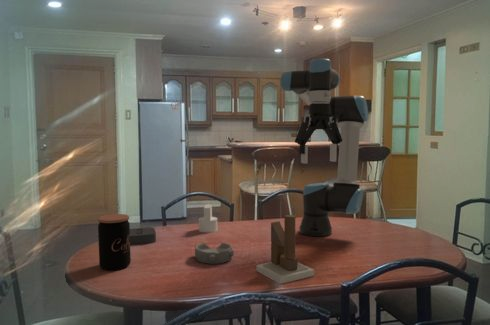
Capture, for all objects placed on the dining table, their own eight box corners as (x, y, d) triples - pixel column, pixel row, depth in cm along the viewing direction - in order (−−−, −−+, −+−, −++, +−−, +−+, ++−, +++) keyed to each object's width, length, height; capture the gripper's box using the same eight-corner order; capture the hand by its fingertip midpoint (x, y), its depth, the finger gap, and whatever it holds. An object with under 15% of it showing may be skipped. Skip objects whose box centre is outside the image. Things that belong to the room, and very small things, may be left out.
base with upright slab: (216, 233, 191) (216, 208, 190) (197, 233, 191) (197, 208, 190) (218, 228, 200) (218, 204, 199) (199, 228, 200) (199, 204, 199)
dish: (191, 256, 158) (190, 243, 157) (224, 251, 163) (224, 239, 163) (202, 268, 144) (201, 254, 144) (238, 262, 150) (238, 249, 149)
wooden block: (279, 260, 144) (279, 210, 143) (297, 269, 135) (298, 216, 133) (270, 262, 142) (270, 211, 141) (288, 271, 133) (289, 217, 132)
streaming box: (125, 239, 182) (124, 229, 182) (154, 236, 186) (153, 227, 186) (125, 247, 170) (125, 236, 170) (156, 244, 174) (156, 234, 174)
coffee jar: (113, 273, 139) (111, 221, 137) (93, 268, 144) (91, 218, 143) (137, 264, 148) (135, 215, 146) (117, 259, 153) (115, 212, 152)
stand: (256, 270, 141) (256, 263, 141) (289, 263, 148) (289, 257, 148) (279, 284, 129) (280, 276, 129) (314, 275, 136) (314, 268, 136)
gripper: (298, 101, 136) (298, 164, 138) (352, 103, 149) (351, 161, 151) (285, 103, 143) (285, 163, 145) (338, 104, 155) (337, 160, 157)
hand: (318, 162), depth 148 cm, fingers open, 13 cm apart
